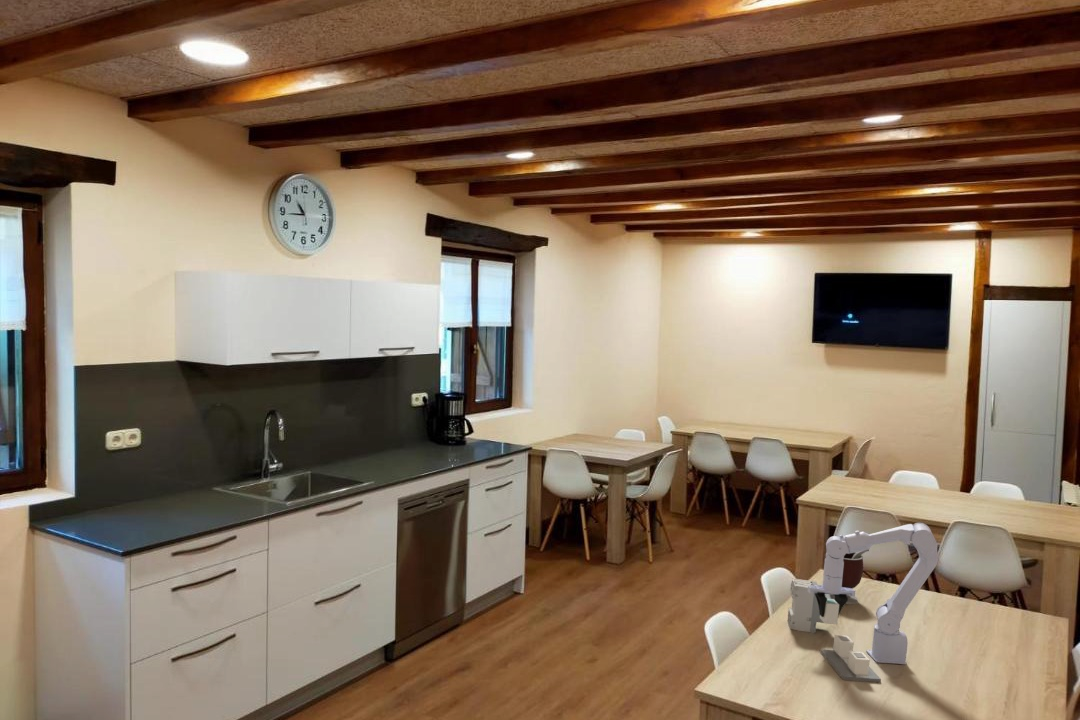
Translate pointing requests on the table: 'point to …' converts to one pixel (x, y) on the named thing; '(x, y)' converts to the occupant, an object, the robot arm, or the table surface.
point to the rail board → (845, 670)
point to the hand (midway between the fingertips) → (828, 616)
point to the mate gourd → (851, 573)
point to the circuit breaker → (803, 607)
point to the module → (831, 612)
